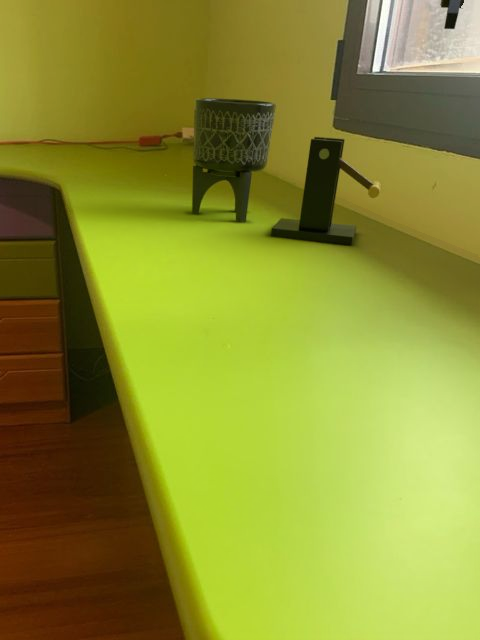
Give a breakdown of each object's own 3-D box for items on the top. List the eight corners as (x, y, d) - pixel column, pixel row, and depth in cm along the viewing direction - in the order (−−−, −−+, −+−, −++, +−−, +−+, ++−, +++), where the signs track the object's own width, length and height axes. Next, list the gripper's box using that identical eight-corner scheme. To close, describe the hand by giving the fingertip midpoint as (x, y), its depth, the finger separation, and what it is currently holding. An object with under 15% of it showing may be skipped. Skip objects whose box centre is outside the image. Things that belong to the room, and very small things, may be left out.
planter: (278, 221, 115) (292, 104, 107) (210, 224, 110) (220, 102, 102) (237, 206, 125) (248, 99, 117) (174, 209, 120) (180, 97, 112)
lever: (374, 196, 105) (385, 183, 103) (372, 202, 100) (383, 188, 98) (315, 151, 104) (326, 137, 103) (311, 155, 99) (321, 140, 98)
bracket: (355, 233, 109) (371, 139, 103) (351, 245, 102) (368, 144, 95) (280, 225, 112) (291, 133, 106) (270, 236, 105) (282, 138, 98)
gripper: (508, -70, 111) (491, 44, 104) (423, -70, 114) (401, 40, 107) (523, -120, 104) (505, -1, 97) (432, -119, 107) (409, -3, 100)
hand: (451, 21), depth 102 cm, fingers closed
